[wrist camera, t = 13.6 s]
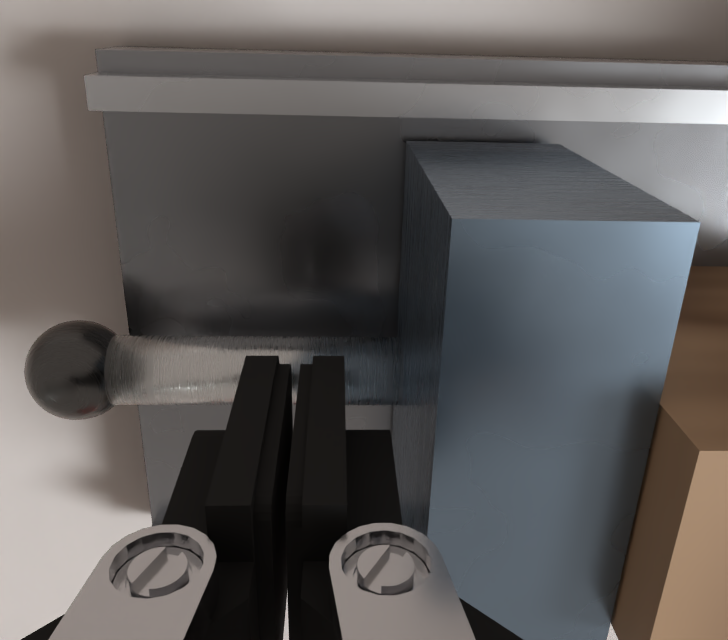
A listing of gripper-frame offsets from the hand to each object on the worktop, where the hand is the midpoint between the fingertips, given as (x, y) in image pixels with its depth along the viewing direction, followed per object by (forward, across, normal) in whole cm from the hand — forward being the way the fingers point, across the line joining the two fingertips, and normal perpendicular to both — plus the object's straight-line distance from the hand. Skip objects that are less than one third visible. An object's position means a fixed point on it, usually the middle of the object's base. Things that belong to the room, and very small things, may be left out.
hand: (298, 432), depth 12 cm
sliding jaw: (+3, 0, 0) cm, 3 cm away
